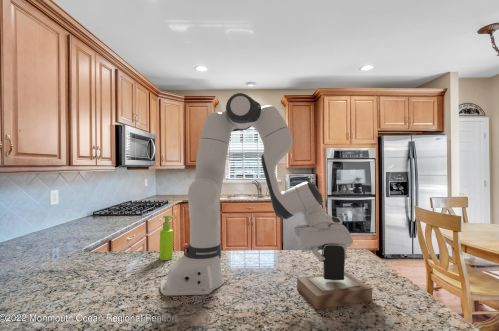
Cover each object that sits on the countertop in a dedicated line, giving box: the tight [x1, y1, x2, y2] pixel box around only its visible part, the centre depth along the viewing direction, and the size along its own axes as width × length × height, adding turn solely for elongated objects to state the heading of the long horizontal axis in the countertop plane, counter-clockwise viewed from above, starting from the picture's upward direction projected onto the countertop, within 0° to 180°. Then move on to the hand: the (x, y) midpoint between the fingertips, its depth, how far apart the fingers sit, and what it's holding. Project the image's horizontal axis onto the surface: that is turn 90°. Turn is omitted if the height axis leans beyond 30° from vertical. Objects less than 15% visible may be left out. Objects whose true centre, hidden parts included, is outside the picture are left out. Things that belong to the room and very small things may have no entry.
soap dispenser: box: [158, 215, 176, 261], centre depth 114 cm, size 6×7×20 cm
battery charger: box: [321, 244, 346, 280], centre depth 81 cm, size 7×4×11 cm, turn 87°
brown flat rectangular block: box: [296, 271, 373, 310], centre depth 81 cm, size 20×13×4 cm, turn 106°
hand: (333, 259), depth 80 cm, fingers open, 7 cm apart
